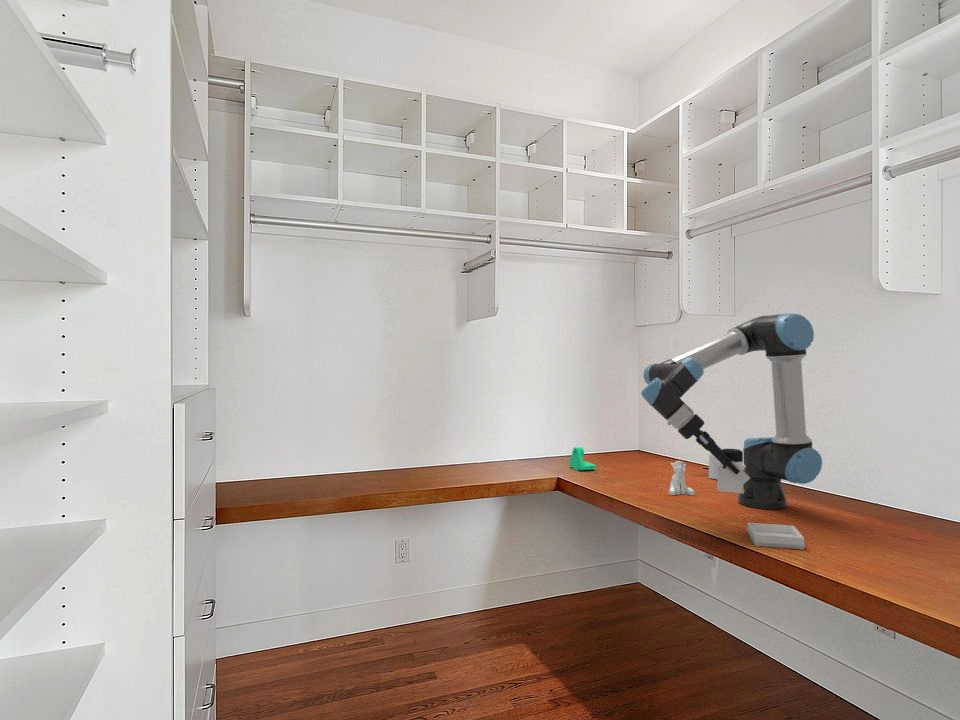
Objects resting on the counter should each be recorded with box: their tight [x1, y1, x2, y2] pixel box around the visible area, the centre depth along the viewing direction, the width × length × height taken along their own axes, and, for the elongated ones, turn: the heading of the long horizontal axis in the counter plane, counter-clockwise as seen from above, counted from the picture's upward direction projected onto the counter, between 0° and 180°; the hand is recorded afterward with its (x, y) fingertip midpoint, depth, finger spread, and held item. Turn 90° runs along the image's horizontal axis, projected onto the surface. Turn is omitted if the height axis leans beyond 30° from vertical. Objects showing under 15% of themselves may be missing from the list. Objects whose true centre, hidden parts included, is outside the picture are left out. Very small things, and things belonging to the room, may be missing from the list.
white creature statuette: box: [668, 460, 696, 496], centre depth 221 cm, size 10×9×12 cm
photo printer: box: [708, 452, 721, 480], centre depth 245 cm, size 10×4×12 cm, turn 38°
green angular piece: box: [568, 446, 597, 471], centre depth 270 cm, size 12×8×10 cm, turn 19°
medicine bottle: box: [716, 448, 746, 494], centre depth 174 cm, size 7×7×12 cm
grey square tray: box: [747, 522, 805, 550], centre depth 163 cm, size 12×12×3 cm
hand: (744, 477), depth 173 cm, fingers closed on medicine bottle, 8 cm apart
